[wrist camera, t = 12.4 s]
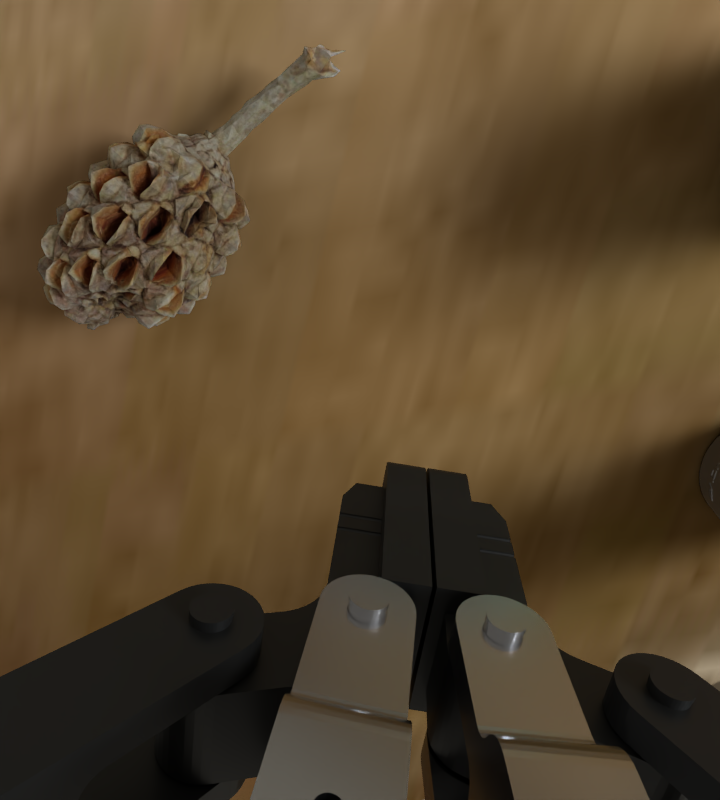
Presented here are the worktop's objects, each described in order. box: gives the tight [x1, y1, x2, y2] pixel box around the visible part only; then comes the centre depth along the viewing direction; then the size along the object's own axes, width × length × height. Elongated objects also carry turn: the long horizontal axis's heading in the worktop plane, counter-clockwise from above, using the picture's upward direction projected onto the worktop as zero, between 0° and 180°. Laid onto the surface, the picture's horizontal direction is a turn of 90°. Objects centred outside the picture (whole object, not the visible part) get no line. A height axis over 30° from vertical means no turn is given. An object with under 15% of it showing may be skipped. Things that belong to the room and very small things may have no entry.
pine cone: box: [37, 44, 344, 330], centre depth 38 cm, size 22×10×10 cm, turn 137°
